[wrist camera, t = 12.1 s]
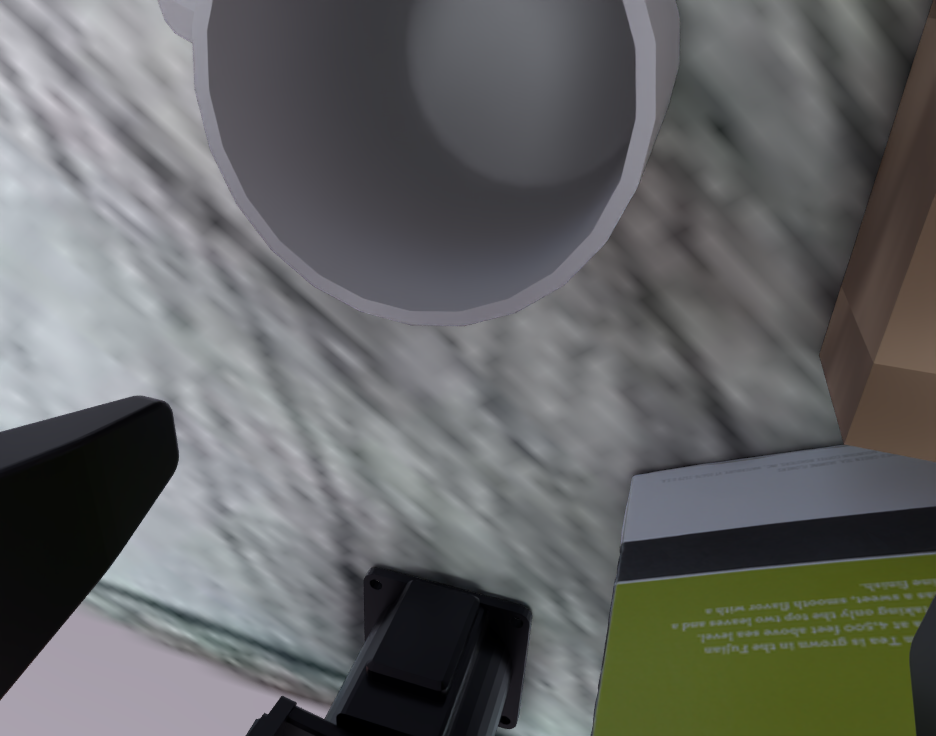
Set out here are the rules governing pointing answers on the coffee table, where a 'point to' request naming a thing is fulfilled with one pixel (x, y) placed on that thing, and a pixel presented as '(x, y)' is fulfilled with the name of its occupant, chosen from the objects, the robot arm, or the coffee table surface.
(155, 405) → the robot arm
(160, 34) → the coffee table surface
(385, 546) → the coffee table surface
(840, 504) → the tea box
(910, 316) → the socket block
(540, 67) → the cup
